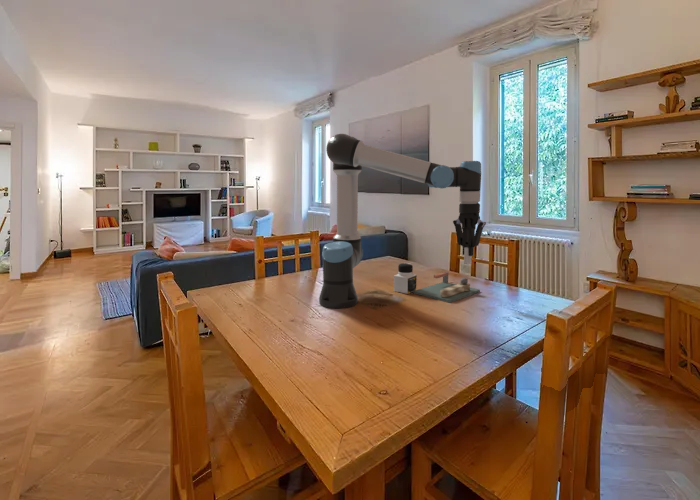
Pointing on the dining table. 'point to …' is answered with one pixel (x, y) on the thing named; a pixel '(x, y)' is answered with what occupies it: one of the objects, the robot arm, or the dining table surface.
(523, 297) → the dining table surface
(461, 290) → the beige lumpy bar
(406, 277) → the medicine bottle
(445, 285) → the pintle board
